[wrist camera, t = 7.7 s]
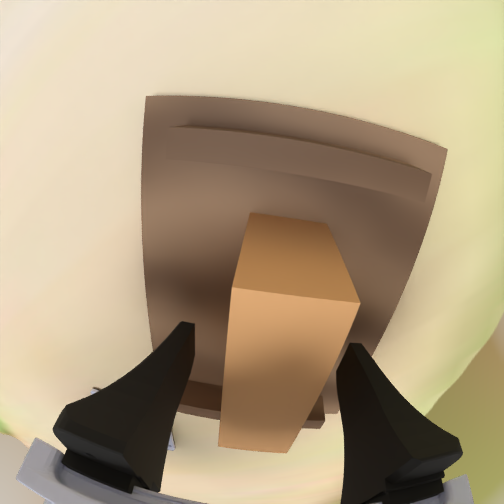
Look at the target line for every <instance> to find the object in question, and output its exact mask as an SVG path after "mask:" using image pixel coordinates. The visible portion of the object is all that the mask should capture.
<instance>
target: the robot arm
mask: <svg viewBox="0 0 504 504" xmlns="http://www.w3.org/2000/svg"><path fill="white" fill-rule="evenodd" d="M194 357H195V323H190V322H184V321H181V322H179V324H178V325H177V326H176V327H175V328H174V330H173V331H172V332H171V333H170V334H169V335H168V337H167V338H166V339H165V340H164V341H163V342H162V343H161V344H160V345H159V346H158V347H157V348H156V349H155V350H154V351H153V352H152V353H151V354H150V355H149V356H148V357H147V358H145V359H144V360H143V361H142V362H141V363H140V364H139V365H137V366H136V367H135V368H134V369H132V370H131V371H130V372H128V373H127V374H126V375H124V376H123V377H121V378H120V379H118V380H117V381H115V382H114V383H112V384H111V385H109V386H107V387H106V388H104V389H102V390H100V391H99V390H96V389H92V390H91V394H92V395H90V396H88V397H86V398H83V399H81V400H78V401H76V402H73V403H71V404H68V405H66V406H65V408H64V409H63V410H62V412H61V414H60V415H59V417H58V419H57V421H56V423H55V425H54V427H53V432H54V434H55V435H56V437H57V438H58V439H59V440H60V441H61V442H62V444H63V445H64V446H65V447H66V448H67V450H66V453H65V455H64V454H63V453H62V452H61V451H59V450H58V449H56V448H55V447H53V446H51V445H49V444H47V443H46V442H44V441H42V440H40V439H39V438H35V439H34V441H33V443H32V445H31V447H30V449H29V451H28V453H27V455H26V457H25V459H24V461H23V463H22V465H21V468H20V470H19V472H18V474H17V476H16V479H17V480H18V481H19V482H20V483H22V484H23V485H25V486H26V487H28V488H29V489H31V490H32V491H34V492H35V493H37V494H38V495H40V496H42V497H43V498H45V501H44V504H207V503H201V502H196V501H191V500H186V499H181V498H177V497H173V496H169V495H165V494H161V493H158V492H159V491H160V488H161V482H162V476H163V469H164V464H165V459H166V454H167V449H168V450H172V451H173V450H175V444H174V440H173V436H172V432H171V431H172V426H173V422H174V418H175V415H176V412H177V409H178V407H179V404H180V401H181V398H182V396H183V393H184V390H185V388H186V385H187V382H188V379H189V377H190V374H191V370H192V366H193V362H194ZM336 386H337V395H338V401H339V407H340V413H341V419H342V425H343V432H344V478H343V489H342V497H341V504H474V502H473V497H472V493H471V489H470V485H469V481H468V477H467V475H466V474H465V475H462V476H459V477H456V478H454V479H451V480H449V481H447V482H445V483H443V484H442V478H444V476H445V474H444V470H445V469H446V468H448V467H449V466H451V465H452V464H453V463H455V462H456V461H457V460H459V458H460V457H461V456H462V454H463V452H462V448H461V446H460V442H459V439H458V438H457V437H455V436H453V435H451V434H450V433H448V432H446V431H444V430H443V429H441V428H440V427H438V426H437V425H435V424H434V423H432V422H431V421H430V420H428V419H427V418H426V417H425V416H423V415H422V414H421V413H420V412H419V411H417V410H416V409H415V408H414V407H413V406H412V405H411V404H410V403H409V402H408V401H407V400H406V399H405V398H404V397H403V396H402V395H401V394H400V393H399V392H398V390H397V389H396V388H395V387H394V386H393V385H392V383H391V382H390V381H389V380H388V378H387V377H386V376H385V375H384V373H383V372H382V371H381V369H380V368H379V367H378V365H377V364H376V362H375V361H374V360H373V358H372V357H371V356H370V354H369V353H368V351H367V350H366V349H365V347H364V346H363V345H362V343H349V345H348V347H347V349H346V351H345V354H344V356H343V358H342V360H341V362H340V364H339V366H338V368H337V370H336Z"/></svg>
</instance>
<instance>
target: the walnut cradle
mask: <svg viewBox="0 0 504 504" xmlns="http://www.w3.org/2000/svg"><path fill="white" fill-rule="evenodd" d="M447 150H448V149H446V148H443V147H441V146H438V145H436V144H433V143H430V142H428V141H425V140H422V139H419V138H416V137H414V136H411V135H408V134H405V133H402V132H398V131H395V130H392V129H389V128H386V127H382V126H379V125H375V124H372V123H368V122H364V121H360V120H356V119H353V118H348V117H344V116H340V115H336V114H331V113H326V112H322V111H317V110H311V109H306V108H301V107H295V106H289V105H282V104H275V103H268V102H260V101H252V100H242V99H231V98H218V97H200V96H146V102H145V113H144V126H143V143H142V171H141V216H142V244H143V262H144V275H145V287H146V298H147V307H148V316H149V324H150V332H151V339H152V346H153V351H154V350H155V349H156V348H157V347H158V346H159V345H160V344H161V343H162V342H163V341H164V340H165V339H166V338H167V337H168V335H169V334H170V333H171V332H172V331H173V330H174V328H175V327H176V326H177V325H178V324H179V322H181V321H184V322H190V323H195V357H194V362H193V366H192V370H191V374H190V377H189V379H188V382H187V385H186V388H185V390H184V393H183V396H182V398H181V401H180V404H179V407H178V409H177V412H181V413H185V414H190V415H195V416H200V417H206V418H211V419H217V420H220V415H221V402H222V390H223V378H224V367H225V355H226V344H227V333H228V322H229V312H230V301H231V291H232V285H233V281H234V276H235V272H236V268H237V264H238V260H239V256H240V252H241V247H242V243H243V239H244V235H245V231H246V227H247V223H248V219H249V215H250V212H252V213H259V214H266V215H273V216H280V217H287V218H294V219H300V220H307V221H313V222H319V223H325V224H327V225H328V227H329V229H330V232H331V234H332V236H333V238H334V240H335V243H336V245H337V247H338V250H339V252H340V254H341V256H342V259H343V261H344V263H345V266H346V268H347V271H348V273H349V275H350V278H351V280H352V283H353V285H354V288H355V290H356V293H357V295H358V298H359V300H360V306H359V309H358V311H357V314H356V316H355V319H354V321H353V323H352V326H351V328H350V331H349V333H348V335H347V338H346V340H345V342H344V345H343V347H342V349H341V351H340V354H339V356H338V358H337V360H336V362H335V364H334V367H333V369H332V371H331V373H330V375H329V377H328V379H327V381H326V383H325V385H324V387H323V389H322V391H321V393H320V395H319V397H318V399H317V401H316V403H315V405H314V406H313V408H312V410H311V412H310V414H309V416H308V418H307V419H306V421H305V423H304V425H303V426H302V428H313V429H320V428H321V426H322V425H323V423H324V422H325V414H337V413H338V411H339V410H340V407H339V401H338V395H337V386H336V370H337V368H338V366H339V364H340V362H341V360H342V358H343V356H344V354H345V351H346V349H347V347H348V345H349V343H362V345H363V346H364V347H365V349H366V350H367V351H368V353H369V354H370V356H372V355H373V353H374V351H375V349H376V347H377V345H378V343H379V341H380V340H381V338H382V336H383V334H384V332H385V330H386V328H387V326H388V323H389V321H390V319H391V317H392V315H393V313H394V311H395V309H396V306H397V304H398V302H399V300H400V298H401V295H402V293H403V291H404V288H405V286H406V283H407V281H408V279H409V276H410V274H411V271H412V269H413V266H414V263H415V261H416V258H417V255H418V253H419V250H420V247H421V244H422V242H423V239H424V236H425V233H426V230H427V227H428V223H429V220H430V217H431V214H432V210H433V207H434V204H435V200H436V196H437V193H438V189H439V185H440V181H441V177H442V173H443V169H444V164H445V160H446V155H447Z"/></svg>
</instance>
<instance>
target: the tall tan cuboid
mask: <svg viewBox="0 0 504 504" xmlns="http://www.w3.org/2000/svg"><path fill="white" fill-rule="evenodd" d="M359 306H360V300H359V298H358V295H357V293H356V290H355V288H354V285H353V283H352V280H351V278H350V275H349V273H348V271H347V268H346V266H345V263H344V261H343V259H342V256H341V254H340V252H339V250H338V247H337V245H336V243H335V240H334V238H333V236H332V234H331V232H330V229H329V227H328V225H327V224H325V223H319V222H313V221H307V220H300V219H294V218H287V217H280V216H273V215H266V214H259V213H252V212H250V215H249V219H248V223H247V227H246V231H245V235H244V239H243V243H242V247H241V252H240V256H239V260H238V264H237V268H236V272H235V276H234V281H233V285H232V291H231V301H230V312H229V322H228V333H227V344H226V355H225V367H224V378H223V390H222V402H221V415H220V428H219V441H218V446H219V447H226V448H233V449H241V450H250V451H261V452H274V453H287V452H288V450H289V449H290V447H291V445H292V444H293V442H294V440H295V439H296V437H297V435H298V433H299V432H300V430H301V428H302V426H303V425H304V423H305V421H306V419H307V418H308V416H309V414H310V412H311V410H312V408H313V406H314V405H315V403H316V401H317V399H318V397H319V395H320V393H321V391H322V389H323V387H324V385H325V383H326V381H327V379H328V377H329V375H330V373H331V371H332V369H333V367H334V364H335V362H336V360H337V358H338V356H339V354H340V351H341V349H342V347H343V345H344V342H345V340H346V338H347V335H348V333H349V331H350V328H351V326H352V323H353V321H354V319H355V316H356V314H357V311H358V309H359Z"/></svg>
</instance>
